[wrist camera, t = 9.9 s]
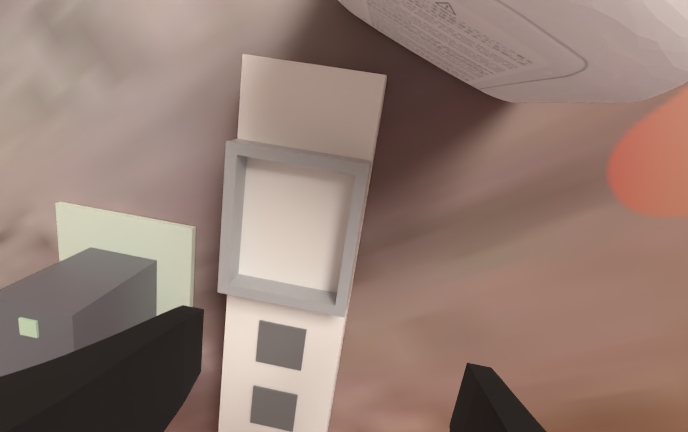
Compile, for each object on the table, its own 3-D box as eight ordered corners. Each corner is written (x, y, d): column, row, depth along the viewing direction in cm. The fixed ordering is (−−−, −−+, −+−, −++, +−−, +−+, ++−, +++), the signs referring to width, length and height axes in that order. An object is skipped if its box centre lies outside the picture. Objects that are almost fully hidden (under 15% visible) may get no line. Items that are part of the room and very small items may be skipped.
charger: (156, 336, 23) (76, 414, 17) (93, 323, 24) (-5, 395, 18) (156, 260, 22) (70, 317, 16) (90, 247, 22) (-19, 298, 16)
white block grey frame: (325, 446, 24) (313, 504, 21) (233, 425, 25) (206, 478, 21) (387, 78, 18) (385, 72, 15) (262, 60, 19) (231, 50, 15)
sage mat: (190, 377, 24) (187, 381, 24) (71, 351, 25) (66, 355, 25) (195, 226, 21) (192, 228, 21) (61, 201, 22) (55, 203, 22)
